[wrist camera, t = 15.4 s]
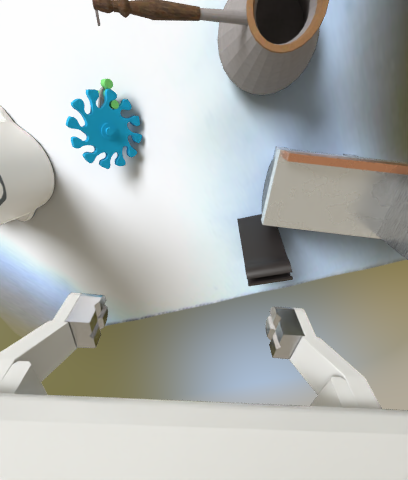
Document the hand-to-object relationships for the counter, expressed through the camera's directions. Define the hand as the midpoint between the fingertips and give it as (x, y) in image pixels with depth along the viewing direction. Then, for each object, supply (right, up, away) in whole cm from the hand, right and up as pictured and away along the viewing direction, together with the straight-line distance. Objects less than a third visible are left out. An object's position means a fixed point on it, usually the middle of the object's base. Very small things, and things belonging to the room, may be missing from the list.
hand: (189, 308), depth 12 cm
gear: (-12, +21, +24) cm, 34 cm away
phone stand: (+11, +4, +31) cm, 33 cm away
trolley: (+17, +13, +26) cm, 33 cm away
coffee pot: (+3, +28, +19) cm, 34 cm away
